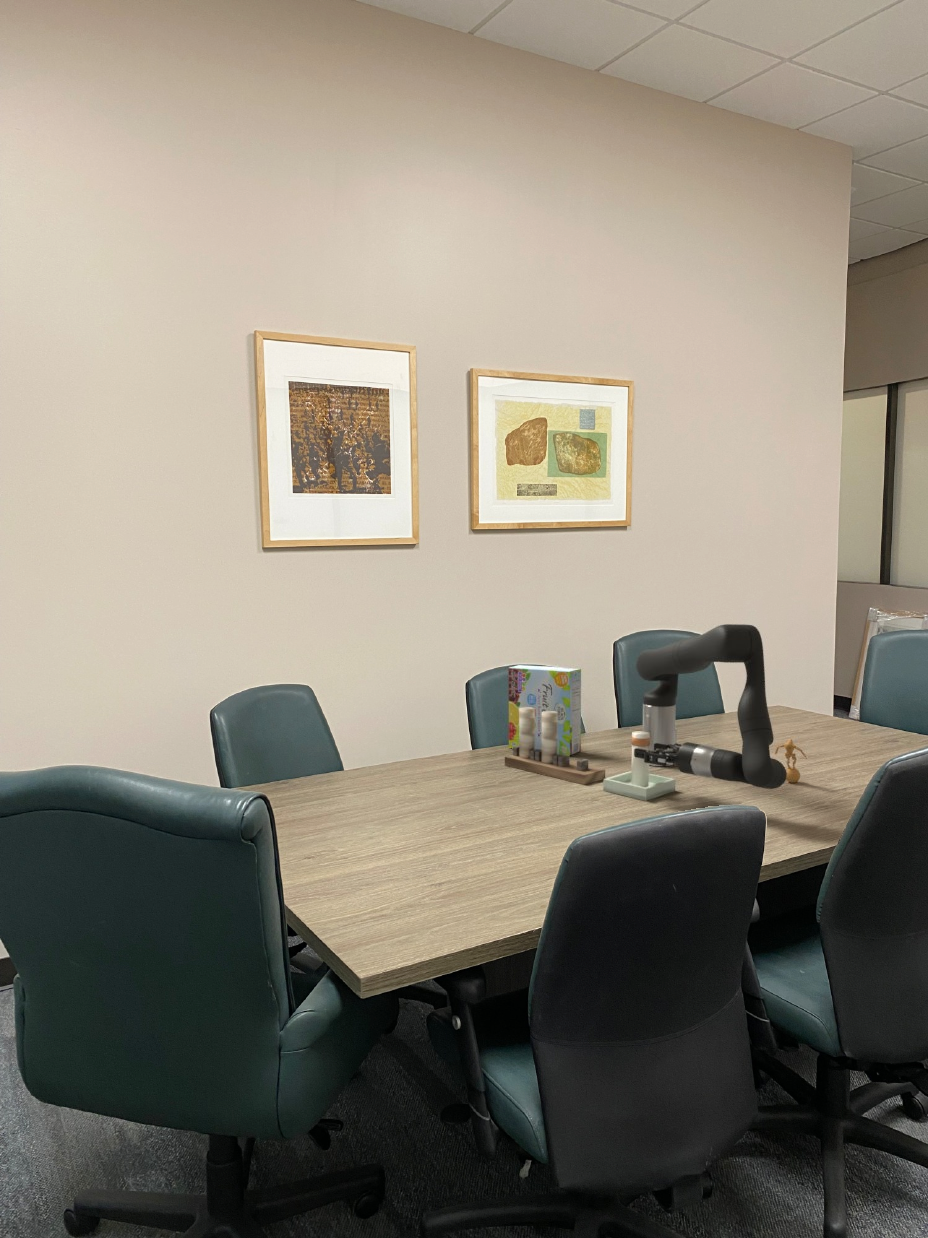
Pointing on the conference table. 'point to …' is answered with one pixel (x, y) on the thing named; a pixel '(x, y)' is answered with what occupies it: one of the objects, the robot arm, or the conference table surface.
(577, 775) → the rail
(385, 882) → the conference table surface
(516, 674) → the snack box
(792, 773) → the figurine
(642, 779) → the marked fuse
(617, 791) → the tray
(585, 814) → the conference table surface
